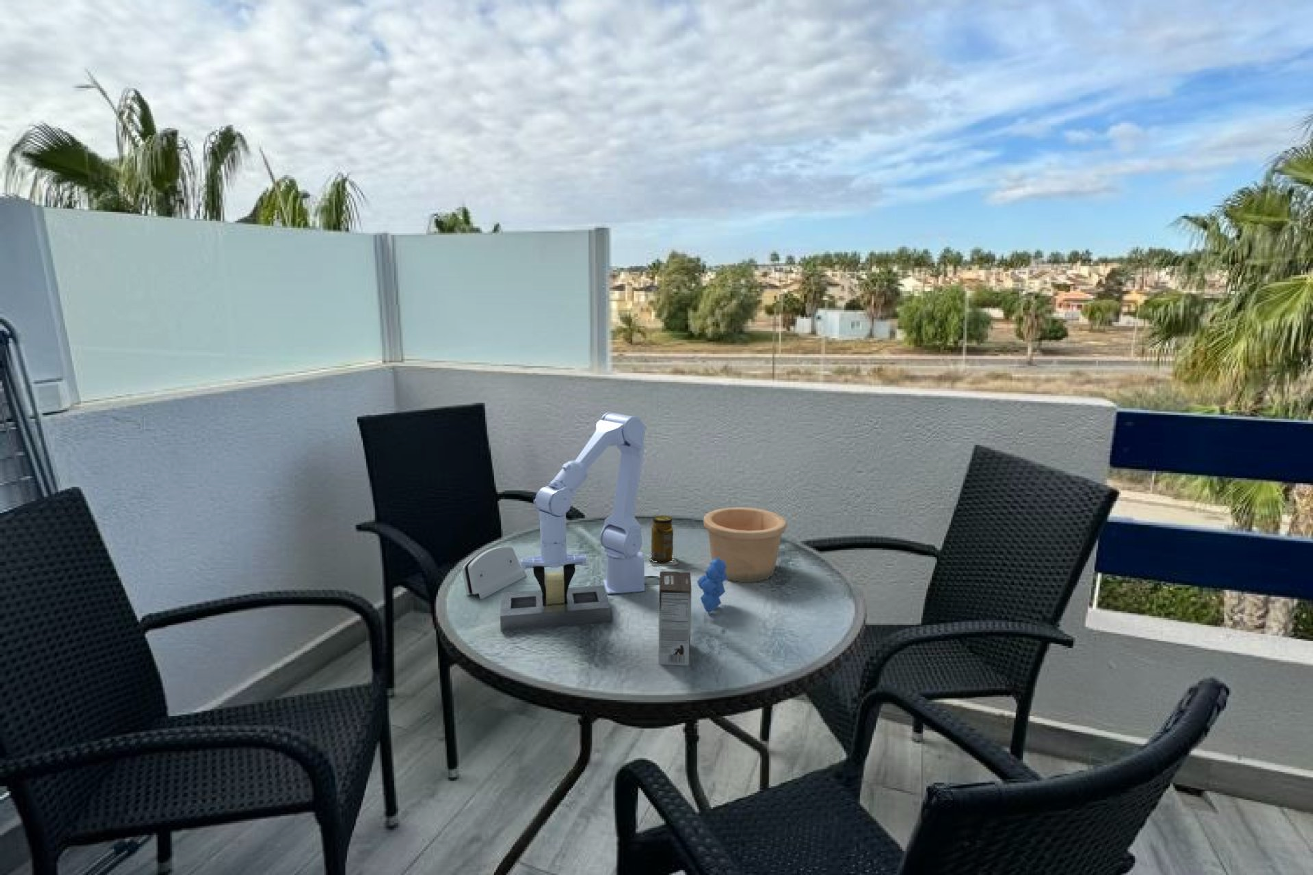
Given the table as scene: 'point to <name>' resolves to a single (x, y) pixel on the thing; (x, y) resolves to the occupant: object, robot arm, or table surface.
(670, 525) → the condiment
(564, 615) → the grey block holder
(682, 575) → the coffee box
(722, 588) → the grapes
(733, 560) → the pottery
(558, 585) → the brass block
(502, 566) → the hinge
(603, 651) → the table surface
